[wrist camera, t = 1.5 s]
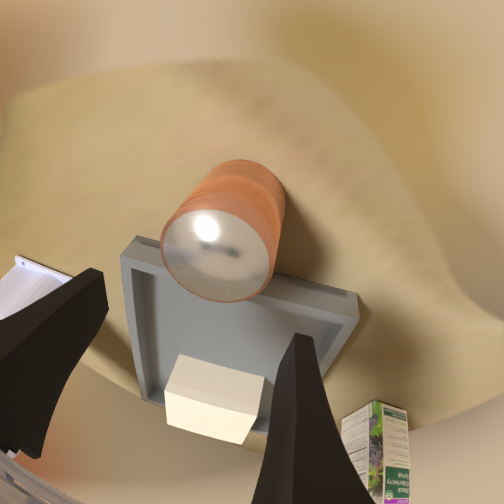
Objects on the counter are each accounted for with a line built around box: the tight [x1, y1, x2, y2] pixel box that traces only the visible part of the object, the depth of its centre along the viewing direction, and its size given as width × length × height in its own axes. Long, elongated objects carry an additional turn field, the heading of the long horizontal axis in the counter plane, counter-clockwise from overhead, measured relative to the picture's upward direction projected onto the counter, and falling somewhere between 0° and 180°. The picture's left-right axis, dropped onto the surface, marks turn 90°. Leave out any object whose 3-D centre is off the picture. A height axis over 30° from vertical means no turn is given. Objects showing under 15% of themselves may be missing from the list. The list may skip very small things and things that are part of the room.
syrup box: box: [341, 400, 411, 504], centre depth 24 cm, size 6×6×14 cm
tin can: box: [160, 160, 286, 303], centre depth 16 cm, size 5×5×6 cm
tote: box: [120, 236, 360, 435], centre depth 26 cm, size 16×21×2 cm
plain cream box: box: [164, 354, 264, 445], centre depth 28 cm, size 8×8×4 cm
